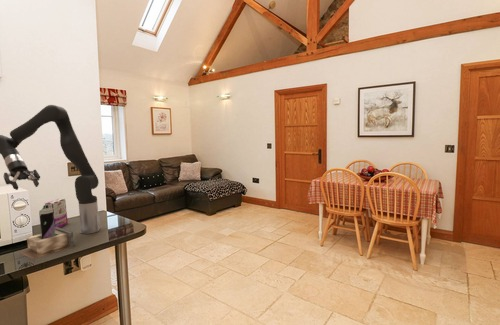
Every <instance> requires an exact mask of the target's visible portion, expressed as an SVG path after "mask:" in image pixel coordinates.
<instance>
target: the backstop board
mask: <svg viewBox="0 0 500 325" xmlns="http://www.w3.org/2000/svg"><path fill="white" fill-rule="evenodd" d="M55 230H57V231H60V232H63V233H66V234H67V239H68V246H65V247H62V248H59V249H56V250H53V251H50V252H47V253H44V254H41V255H39V254H37V253H34V252H32V251H30V250H28V247H27V248H24V249H21V250H18V251H17V253H19V254H20V255H23V256H25V257H26V258H29V259H31V260H36V259H40V258H43V257H45V256H48V255H52V254H53V253H56V252H60V251H62V250H65V249H68V248H72V247H75V243H74V232H73V231H70V230H68V229H64V228H62V227H60V228H59V227H55Z"/></svg>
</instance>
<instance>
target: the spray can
mask: <svg viewBox="0 0 500 325" xmlns="http://www.w3.org/2000/svg"><path fill="white" fill-rule="evenodd" d="M38 214H39V224H40V234H41V235H42V239H46V238H49V237H53V236H56V234H55V224H54V214H53V209H51V208H49V207H48V205H45V204H44V205H43V207H42V208H41V210H39V213H38Z"/></svg>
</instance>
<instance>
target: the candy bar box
mask: <svg viewBox="0 0 500 325" xmlns="http://www.w3.org/2000/svg"><path fill="white" fill-rule="evenodd" d="M44 205H48V207H49V208H51V209H53V214H54V224H55V227H59V228H62V227H64V226H66V225H68V224H69V223H68V222H69V221H68V214H67V204H66V198H57V199H54V200H51V201H48V202H46V203H44Z"/></svg>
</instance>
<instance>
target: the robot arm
mask: <svg viewBox="0 0 500 325" xmlns="http://www.w3.org/2000/svg"><path fill="white" fill-rule="evenodd" d="M51 122H54V123H55V125H56V126H57V129H58V131H59V135H60V136H59V139H60V140H59V141H60V142H59V143H60V148H61V149H62V152H63V154H64V155H65V157H66V158H67V160H68V161H69V162H70V163H72V164H73V165H74V166H75V168H77V170H78V171H79V174H80V175H79V176H77V177H76V178H75V181H74V190H75V196H76V199H77V201H78V210H79V211H78V212H79V224H80V233H81V234H84V235H88V234H94V233H96V232H97V233H98V232H99V231H100V230H101V224H100V223H101V221H100V220H101V219H100V213H99V207H98V197H97V196H96V195H93V192H92V190H94V189H97V187H98V186H99V183H100V182H99V179H98V176H97V174H96V173H95V171H94V170H93V167H92V165H91V164H90V162H89V160H88V158H87V156H86V154H85V152H84V150H83V147H82V145H81V143H80V141H79V139H78V136H77V134H76V133H75V130H74V127H73V125H72V123H71V120H70V116H69V114H68V111H67V110H66V108H64V107H62V106H59V105H55V104H48V105H46V106H44V108H42V109H40V110H39V111H38V112H37V113H36V114H35V115H34V116H33V117H31V118H30V119H28V120H27V121H26V122H24V123H23V124H21V125H19V126H18V127H16V128H14V129H12V130H11V131H10V132H9V136H10V137H8V136H5V135H3V134H0V155H1V156H2V159H3V160H4V163H5V166H6V169H7V170H8V172H9V173H8V172H4V173H3V180H4V182H5V184H6V185H11V186H12V188H13V190H15V191H17V190H18V189H19V185H18V183H17V181H22V180H24V181H25V180H28V181H31V182H33V184H34V186H35V188H37V187H39V185H40V183H39V181H40V179H41V176H40V174H39V172H38V171H37V170H36V169H33V170H29V169H28V165H27V164H26V163H25V161H24V159H23V157H22V156H21V154H20V152H19V151H18V150H17V149H16V148H18V147H19V145H20V144H22V142H23V141H25V140H26V139H28V138H30V137H31V136H33V135H34V134H35V133H36V132H37V131H38V130H39V129H40V128H41V127H42V126H43V125H45V124H49V123H51ZM10 177H11V178H13V179H12V180H11V178H10Z"/></svg>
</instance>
